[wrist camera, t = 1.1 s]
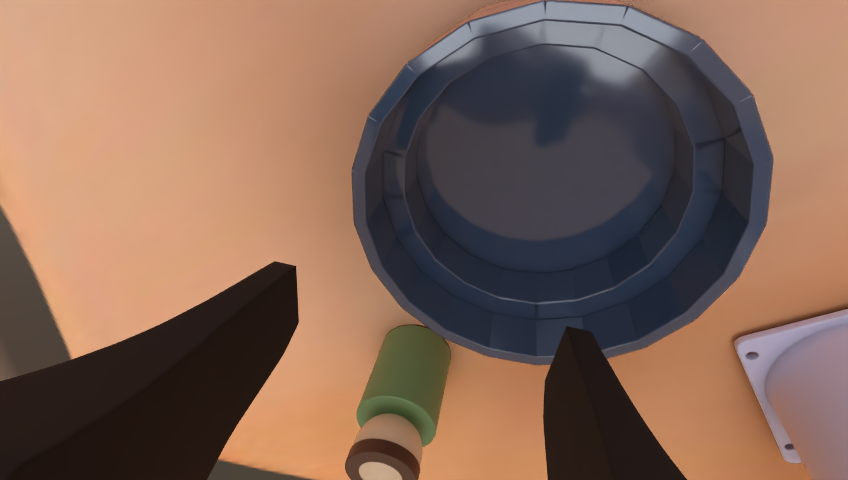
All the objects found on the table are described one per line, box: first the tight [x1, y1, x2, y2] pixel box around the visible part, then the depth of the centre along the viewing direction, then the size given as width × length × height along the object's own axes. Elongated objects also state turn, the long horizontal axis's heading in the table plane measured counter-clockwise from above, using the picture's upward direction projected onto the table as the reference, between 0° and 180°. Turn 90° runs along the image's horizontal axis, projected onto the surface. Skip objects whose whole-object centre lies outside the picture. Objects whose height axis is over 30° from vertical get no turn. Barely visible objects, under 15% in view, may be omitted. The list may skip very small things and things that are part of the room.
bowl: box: [352, 0, 773, 365], centre depth 17 cm, size 13×13×5 cm
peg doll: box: [345, 325, 451, 480], centre depth 23 cm, size 4×4×8 cm
